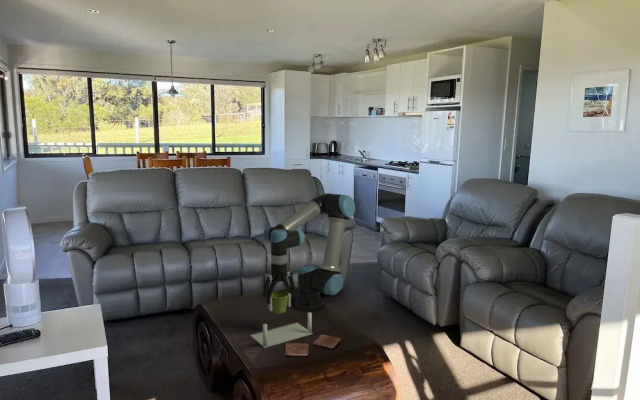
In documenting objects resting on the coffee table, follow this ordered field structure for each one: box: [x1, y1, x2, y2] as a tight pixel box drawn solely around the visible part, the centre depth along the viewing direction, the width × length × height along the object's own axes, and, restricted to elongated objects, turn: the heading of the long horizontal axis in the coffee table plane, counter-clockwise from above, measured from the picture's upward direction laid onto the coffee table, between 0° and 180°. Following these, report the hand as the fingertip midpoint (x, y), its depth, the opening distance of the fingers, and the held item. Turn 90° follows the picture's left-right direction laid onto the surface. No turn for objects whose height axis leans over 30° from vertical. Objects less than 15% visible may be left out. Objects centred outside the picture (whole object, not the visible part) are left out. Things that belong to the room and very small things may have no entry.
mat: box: [249, 311, 313, 349], centre depth 218 cm, size 26×15×10 cm, turn 124°
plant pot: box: [271, 290, 289, 315], centre depth 218 cm, size 9×9×9 cm
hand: (279, 307), depth 218 cm, fingers closed on plant pot, 9 cm apart
